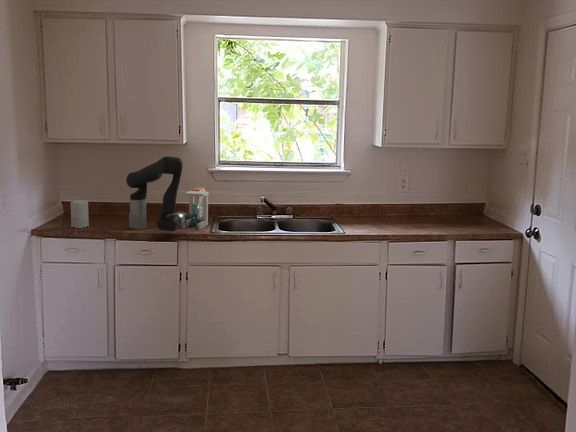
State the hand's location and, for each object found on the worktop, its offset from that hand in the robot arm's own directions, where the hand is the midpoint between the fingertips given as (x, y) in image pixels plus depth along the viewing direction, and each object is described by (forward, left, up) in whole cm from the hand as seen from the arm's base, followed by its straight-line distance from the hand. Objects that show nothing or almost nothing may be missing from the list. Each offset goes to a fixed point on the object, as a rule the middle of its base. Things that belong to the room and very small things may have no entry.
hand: (188, 214), depth 344 cm
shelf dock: (+11, +4, -9) cm, 15 cm away
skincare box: (-33, +54, -10) cm, 64 cm away
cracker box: (+29, +15, -10) cm, 34 cm away
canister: (+12, +4, -9) cm, 16 cm away
